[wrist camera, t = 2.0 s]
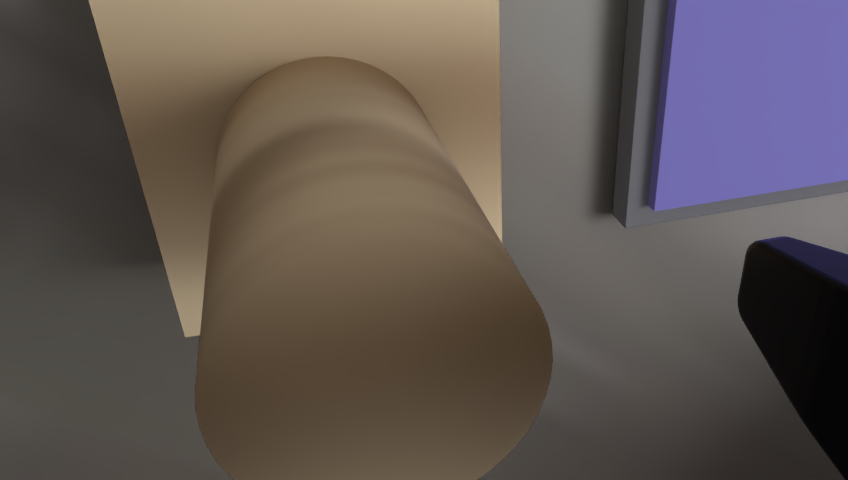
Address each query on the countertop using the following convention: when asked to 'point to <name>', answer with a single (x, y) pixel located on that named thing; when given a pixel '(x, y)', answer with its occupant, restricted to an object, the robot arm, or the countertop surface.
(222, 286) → the stamp
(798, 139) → the ink pad
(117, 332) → the countertop surface
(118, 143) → the countertop surface
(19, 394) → the countertop surface
